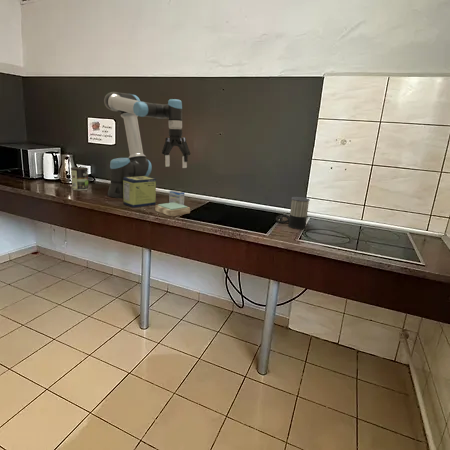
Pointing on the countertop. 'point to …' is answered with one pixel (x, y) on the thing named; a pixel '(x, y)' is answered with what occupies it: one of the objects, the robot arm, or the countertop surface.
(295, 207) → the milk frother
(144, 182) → the protein box
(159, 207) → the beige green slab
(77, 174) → the coffee can
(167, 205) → the mat
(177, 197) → the medicine box
